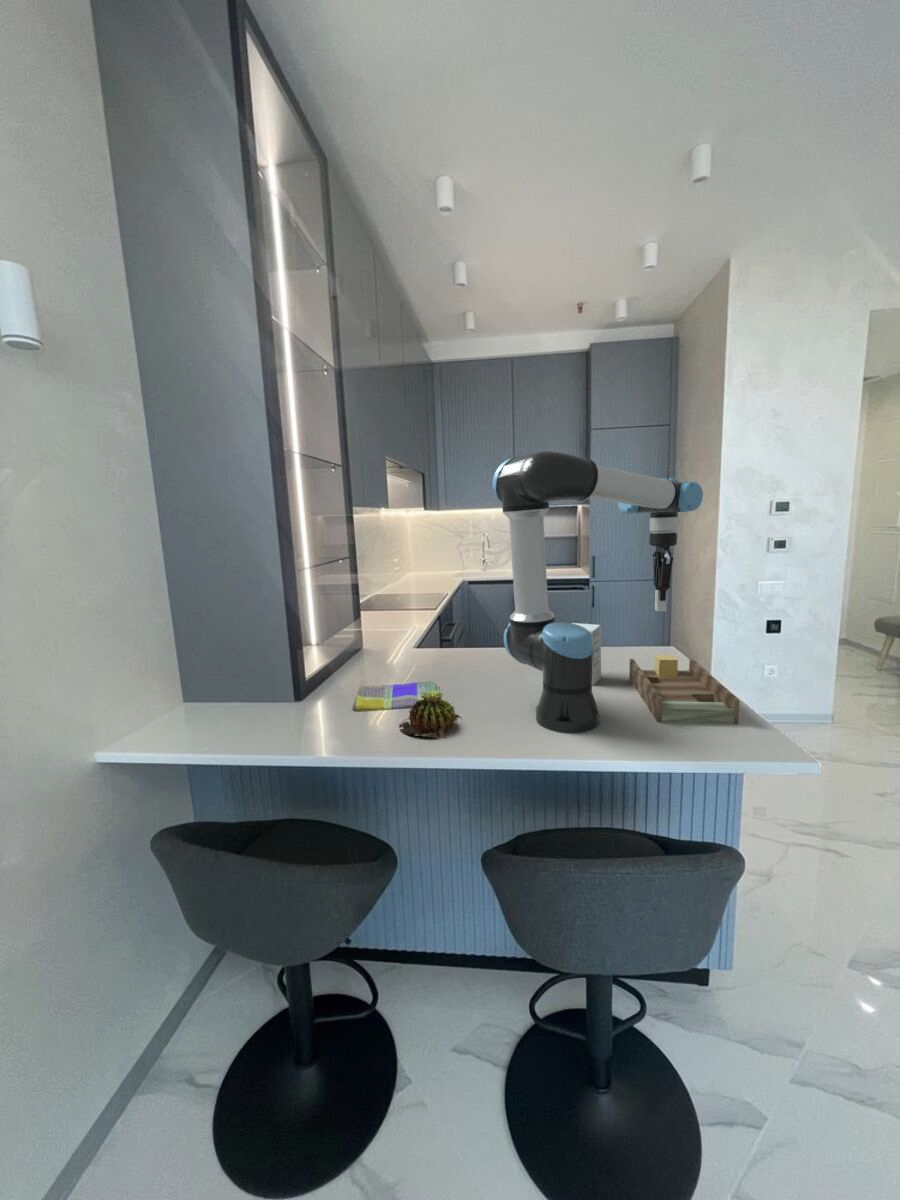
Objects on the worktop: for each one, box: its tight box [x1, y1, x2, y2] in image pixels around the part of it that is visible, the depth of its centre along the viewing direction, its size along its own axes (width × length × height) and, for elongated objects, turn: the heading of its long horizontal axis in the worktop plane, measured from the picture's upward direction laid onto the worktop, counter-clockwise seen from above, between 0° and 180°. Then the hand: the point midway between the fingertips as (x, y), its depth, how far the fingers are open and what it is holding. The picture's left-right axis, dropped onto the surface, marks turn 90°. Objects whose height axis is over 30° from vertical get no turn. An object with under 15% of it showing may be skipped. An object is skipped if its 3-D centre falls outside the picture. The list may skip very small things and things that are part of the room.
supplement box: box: [570, 622, 602, 687], centre depth 152 cm, size 10×9×17 cm
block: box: [654, 654, 679, 677], centre depth 147 cm, size 5×5×5 cm
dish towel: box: [352, 680, 440, 712], centre depth 143 cm, size 18×24×3 cm
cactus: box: [398, 690, 463, 740], centre depth 123 cm, size 17×16×10 cm
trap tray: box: [628, 658, 740, 725], centre depth 134 cm, size 33×18×6 cm, turn 172°
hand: (660, 610), depth 152 cm, fingers closed
